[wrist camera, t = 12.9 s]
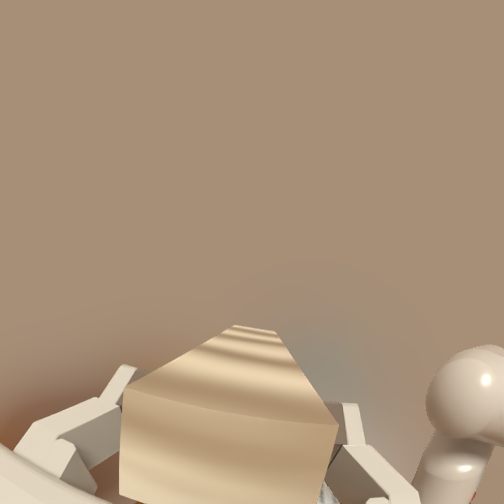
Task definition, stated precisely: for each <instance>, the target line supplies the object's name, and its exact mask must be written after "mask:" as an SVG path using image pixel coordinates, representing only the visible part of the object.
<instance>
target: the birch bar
mask: <svg viewBox="0 0 504 504" xmlns="http://www.w3.org/2000/svg"><path fill="white" fill-rule="evenodd" d="M338 428H339V424H338V423H337V421H336V420H335V419H334V417H333V416H332V414H331V413H330V411H329V410H328V409H327V407H326V406H325V404H324V403H323V401H322V400H321V398H320V397H319V396H318V394H317V393H316V391H315V390H314V389H313V387H312V386H311V384H310V383H309V381H308V380H307V378H306V377H305V375H304V374H303V372H302V371H301V369H300V368H299V367H298V365H297V364H296V362H295V361H294V359H293V358H292V356H291V355H290V353H289V352H288V350H287V349H286V347H285V346H284V344H283V343H282V342H281V340H280V338H279V337H278V335H277V334H276V332H275V331H269V330H263V329H256V328H250V327H244V326H238V325H234V326H232V327H231V328H229V329H227V330H225V331H224V332H222V333H220V334H219V335H217V336H215V337H214V338H212V339H210V340H208V341H207V342H205V343H203V344H201V345H200V346H198V347H196V348H194V349H193V350H191V351H189V352H187V353H186V354H184V355H182V356H180V357H179V358H177V359H175V360H173V361H171V362H170V363H168V364H166V365H164V366H162V367H160V368H159V369H157V370H155V371H153V372H151V373H149V374H148V375H146V376H144V377H142V378H140V379H138V380H136V381H135V382H133V383H131V384H129V385H127V386H125V387H124V393H123V405H122V419H121V435H120V461H119V494H120V495H122V496H125V497H128V498H131V499H134V500H136V501H140V502H143V503H146V504H316V503H317V500H318V497H319V494H320V491H321V488H322V485H323V481H324V478H325V475H326V472H327V468H328V465H329V461H330V458H331V454H332V451H333V447H334V443H335V439H336V435H337V432H338Z"/></svg>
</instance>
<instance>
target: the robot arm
mask: <svg viewBox="0 0 504 504" xmlns="http://www.w3.org/2000/svg"><path fill="white" fill-rule="evenodd" d="M149 373H151V372H149V371H146V370H142V369H139V368H135V367H132V366H128V365H125V364H123V365H122V366H120V367H119V369H118V370H117V372H116V373H115V375H114V376H113V378H112V379H111V381H110V382H109V384H108V385H107V387H106V388H105V390H104V391H103V393H102V394H101V396H100V398H96V397H94V398H91V399H89V400H87V401H85V402H82V403H80V404H78V405H75V406H73V407H70V408H68V409H66V410H63V411H61V412H59V413H56V414H54V415H51V416H49V417H46V418H44V419H41V420H39V421H37V422H34V423H33V424H32V425H31V427H30V428H29V430H28V431H27V432H26V434H25V435H24V436H23V438H22V439H21V441H20V442H19V443H18V445H17V446H16V448H15V449H14V450H13V452H12V451H11V450H9V449H8V448H6V447H5V446H4V445H2V444H1V443H0V504H113V503H111V502H108V501H106V500H103V499H101V498H98V497H96V496H94V493H95V491H96V489H97V485H96V482H95V481H94V479H93V478H92V476H91V474H90V473H89V471H88V470H90V469H91V468H93V467H94V466H96V465H97V464H99V463H100V462H102V461H104V460H105V459H107V458H108V457H110V456H111V455H113V454H114V453H116V452H117V451H119V450H120V435H121V419H122V405H123V393H124V387H125V386H127V385H129V384H131V383H133V382H135V381H136V380H138V379H140V378H142V377H144V376H146V375H148V374H149ZM323 403H324V404H325V406H326V407H327V409H328V410H329V411H330V413H331V414H332V416H333V417H334V419H335V420H336V421H337V423H338V424H339V428H338V432H337V435H336V439H335V443H334V447H333V451H332V454H331V458H330V461H329V465H328V468H327V472H326V475H325V478H324V480H325V482H326V483H327V485H328V486H329V488H330V489H331V491H332V492H333V494H334V495H335V497H336V498H337V500H338V501H339V502H340V504H470V502H471V501H472V500H473V498H474V497H475V495H476V492H475V491H476V489H477V487H478V485H479V482H480V480H481V478H482V475H483V473H484V471H485V469H486V466H487V464H488V461H489V459H490V456H491V454H492V452H493V449H494V446H495V445H496V446H501V447H504V349H503V348H501V347H499V346H496V345H482V346H478V347H475V348H471V349H468V350H465V351H461V352H459V353H457V354H456V355H454V356H452V357H451V358H450V359H448V360H447V361H446V362H445V363H444V364H443V365H442V367H441V368H440V369H439V370H438V372H437V373H436V375H435V376H434V378H433V380H432V381H431V383H430V385H429V388H428V390H427V395H426V412H427V416H428V418H429V420H430V422H431V424H432V426H433V427H434V428H435V429H436V430H435V432H434V434H433V436H432V438H431V440H430V442H429V444H428V446H427V447H426V449H425V451H424V453H423V455H422V458H421V460H420V463H419V466H418V468H417V471H416V474H415V477H414V479H413V481H412V484H411V485H410V484H409V483H408V482H407V481H406V480H405V479H404V478H403V477H402V476H401V475H400V474H399V473H398V472H397V471H396V470H395V469H394V468H393V467H392V466H391V465H390V464H389V463H388V462H387V461H386V460H385V459H384V458H383V457H382V456H381V455H380V454H379V453H378V452H377V451H376V450H375V449H374V448H373V447H372V446H371V445H366V443H365V438H364V433H363V428H362V422H361V417H360V412H359V407H358V405H357V404H356V403H337V402H323ZM502 504H504V503H502Z"/></svg>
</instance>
